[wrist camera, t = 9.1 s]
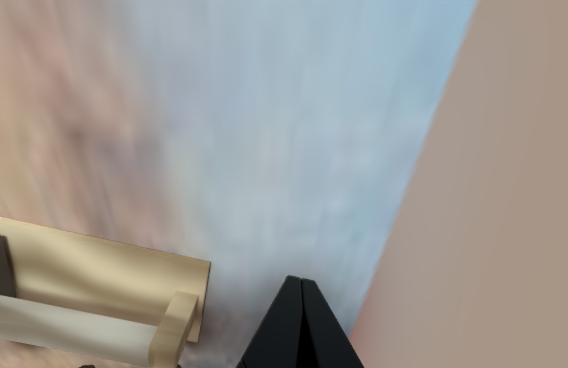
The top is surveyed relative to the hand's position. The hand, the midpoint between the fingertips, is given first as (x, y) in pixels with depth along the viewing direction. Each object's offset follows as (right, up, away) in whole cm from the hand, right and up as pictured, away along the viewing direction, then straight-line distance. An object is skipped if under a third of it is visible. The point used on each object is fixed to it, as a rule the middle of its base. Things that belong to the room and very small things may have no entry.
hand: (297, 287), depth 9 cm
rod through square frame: (-21, -5, +18) cm, 28 cm away
